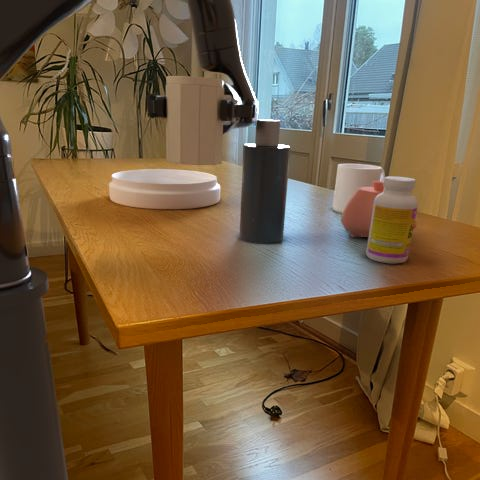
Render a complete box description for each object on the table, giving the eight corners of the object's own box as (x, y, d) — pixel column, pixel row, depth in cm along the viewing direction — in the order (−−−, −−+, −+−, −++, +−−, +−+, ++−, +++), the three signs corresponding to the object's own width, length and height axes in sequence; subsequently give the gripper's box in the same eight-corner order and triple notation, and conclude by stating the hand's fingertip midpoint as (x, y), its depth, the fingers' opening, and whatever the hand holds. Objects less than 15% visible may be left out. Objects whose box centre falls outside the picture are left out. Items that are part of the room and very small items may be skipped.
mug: (350, 216, 108) (357, 169, 103) (324, 208, 116) (329, 163, 111) (392, 213, 113) (399, 168, 109) (363, 205, 121) (370, 163, 117)
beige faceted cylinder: (170, 164, 53) (170, 74, 50) (164, 158, 59) (163, 77, 56) (226, 165, 55) (229, 79, 51) (214, 159, 61) (216, 81, 57)
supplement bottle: (409, 266, 75) (426, 183, 70) (366, 262, 76) (379, 179, 71) (404, 254, 81) (419, 177, 76) (364, 251, 82) (376, 174, 77)
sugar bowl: (349, 224, 100) (356, 174, 96) (418, 235, 94) (429, 182, 90) (331, 237, 90) (338, 181, 86) (407, 249, 84) (418, 190, 80)
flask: (246, 244, 83) (251, 120, 75) (234, 232, 90) (239, 118, 82) (289, 243, 85) (299, 122, 77) (274, 231, 92) (283, 119, 84)
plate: (86, 201, 111) (84, 177, 109) (146, 186, 134) (146, 165, 132) (190, 214, 103) (190, 188, 100) (235, 195, 126) (236, 174, 123)
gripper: (163, 76, 67) (127, 67, 52) (265, 81, 66) (258, 74, 51) (164, 133, 70) (130, 140, 55) (261, 139, 69) (253, 148, 54)
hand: (192, 108), depth 53 cm, fingers closed on beige faceted cylinder, 6 cm apart
